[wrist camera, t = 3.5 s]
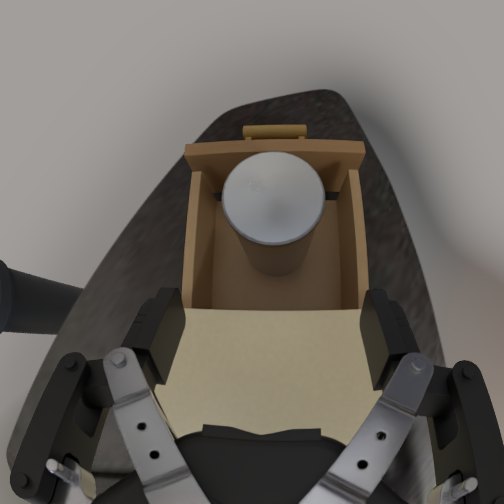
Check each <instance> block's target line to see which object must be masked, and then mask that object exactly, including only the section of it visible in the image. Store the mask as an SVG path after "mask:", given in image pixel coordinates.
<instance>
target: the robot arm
mask: <svg viewBox="0 0 504 504" xmlns="http://www.w3.org/2000/svg"><path fill="white" fill-rule="evenodd" d="M185 324H186V315H185V311H184V307H183V303H182V299H181V295H180V291H179V289H178V288H160V290H159V292H158V294H157V296H156V298H155V299H152V298H150V299H149V300H148V301H147V302H146V303H144V304H143V305H142V307H141V309H140V310H139V312H138V316H136V318H135V320H134V323H133V324H132V326H131V328H130V330H129V332H128V334H127V336H126V338H125V339H124V341H123V343H122V345H121V347H119V348H115V349H113V350H111V351H110V352H109V353H108V354H107V355H106V356H105V358H104V359H99V360H90V361H87V360H86V359H85V357H84V356H83V355H82V354H81V353H78V352H73V353H69V354H67V355H65V356H64V357H63V358H62V359H61V360H60V361H59V363H58V365H57V367H56V369H55V371H54V373H53V375H52V377H51V379H50V381H49V383H48V385H47V387H46V389H45V391H44V393H43V395H42V397H41V400H40V402H39V404H38V406H37V408H36V411H35V413H34V415H33V417H32V420H31V422H30V424H29V427H28V429H27V432H26V434H25V437H24V439H23V442H22V444H21V447H20V449H19V452H18V455H17V458H16V460H15V463H14V466H13V469H12V472H11V475H10V484H11V487H12V490H13V491H14V492H15V494H16V495H18V496H19V497H20V498H22V499H24V500H26V501H28V502H31V503H32V504H408V503H407V502H406V501H405V500H404V499H403V498H402V497H400V496H399V495H398V494H397V493H396V492H395V491H394V490H393V489H392V488H391V487H390V486H388V485H387V484H386V483H385V482H384V481H383V480H382V477H383V476H384V474H385V473H386V471H387V469H388V468H389V466H390V464H391V463H392V461H393V459H394V458H395V456H396V454H397V453H398V451H399V449H400V447H401V445H402V444H403V442H404V440H405V438H406V436H407V434H408V432H409V431H410V429H411V427H412V425H413V423H414V421H415V418H416V416H417V415H419V416H426V417H427V422H428V427H429V433H430V439H431V445H432V452H433V459H434V467H435V475H436V485H437V486H436V487H434V488H433V489H432V490H431V492H430V493H429V495H428V498H427V504H504V445H503V441H502V438H501V433H500V429H499V426H498V422H497V419H496V415H495V412H494V409H493V406H492V402H491V399H490V396H489V393H488V391H487V388H486V385H485V382H484V379H483V376H482V374H481V371H480V369H479V368H478V367H477V365H475V364H474V363H472V362H470V361H465V360H463V361H459V362H457V363H456V364H455V365H454V367H453V368H445V367H439V366H435V365H433V363H432V361H431V360H430V359H429V358H428V357H427V356H425V355H424V354H421V353H420V351H419V348H418V346H417V343H416V340H415V338H414V335H413V333H412V330H411V328H410V327H409V323H408V320H407V319H406V315H405V313H404V311H403V308H402V307H401V306H400V305H399V304H398V303H397V302H396V301H389V300H388V297H387V295H386V292H385V290H383V289H380V290H367V291H366V293H365V297H364V302H363V306H362V310H361V314H360V322H359V325H360V332H361V336H362V341H363V345H364V349H365V353H366V358H367V362H368V367H369V372H370V377H371V381H372V386H373V391H378V390H382V395H381V396H380V397H379V399H378V400H377V402H376V403H375V405H374V407H373V408H372V410H371V411H370V413H369V414H368V416H367V418H366V419H365V421H364V422H363V424H362V425H361V426H360V428H359V429H358V431H357V432H356V434H355V435H354V437H353V438H352V439H351V441H350V442H349V444H348V445H347V446H346V445H345V444H343V443H342V442H340V441H338V440H336V439H333V438H330V437H327V436H322V435H321V428H312V429H289V430H285V431H280V432H275V433H270V434H265V435H259V434H255V433H251V432H248V431H244V430H241V429H238V428H234V427H230V426H219V425H209V424H203V428H202V431H198V432H193V433H190V434H186V435H184V436H182V437H180V438H178V436H177V435H176V433H175V431H174V429H173V428H172V426H171V424H170V422H169V420H168V418H167V416H166V414H165V412H164V410H163V408H162V406H161V404H160V402H159V400H158V398H157V396H156V394H155V392H154V390H155V387H156V384H159V385H166V382H167V379H168V376H169V373H170V370H171V367H172V364H173V361H174V358H175V355H176V352H177V349H178V346H179V343H180V340H181V337H182V334H183V331H184V329H185ZM110 407H112V409H113V412H114V415H115V418H116V421H117V424H118V427H119V429H120V432H121V435H122V437H123V440H124V443H125V445H126V448H127V450H128V453H129V455H130V457H131V460H132V462H133V465H134V467H135V469H136V470H134V471H133V472H131V473H130V474H129V475H127V476H126V477H124V478H123V479H121V480H120V481H119V482H117V483H116V484H114V485H113V486H111V487H110V488H108V489H107V490H105V491H104V492H102V493H100V494H99V495H98V496H97V497H96V494H95V492H96V487H95V479H94V477H93V475H92V474H91V473H90V470H91V467H92V463H93V460H94V456H95V453H96V449H97V446H98V443H99V440H100V436H101V433H102V430H103V427H104V424H105V421H106V418H107V415H108V412H109V409H110Z"/></svg>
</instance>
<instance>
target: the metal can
mask: <svg viewBox="0 0 504 504" xmlns="http://www.w3.org/2000/svg"><path fill="white" fill-rule="evenodd" d="M324 207H325V189H324V186H323V183H322V181H321V178H320V177H319V175H318V173H317V172H316V171H315V169H314V168H313V167H312V166H311V165H310V164H309V163H307V162H306V161H304V160H303V159H301V158H299V157H298V156H295V155H293V154H289V153H286V152H279V151H269V152H262V153H258V154H255V155H252V156H250V157H248V158H246V159H245V160H243V161H242V162H240V163H239V164H238V165H237V166H236V167H235V168H234V169H233V170H232V171H231V172H230V174H229V175H228V177H227V179H226V181H225V183H224V186H223V190H222V208H223V211H224V214H225V217H226V219H227V221H228V223H229V224H230V226H231V227H232V229H233V230H234V231H235V233H236V235H237V237H238V239H239V241H240V243H241V245H242V247H243V249H244V251H245V253H246V255H247V257H248V259H249V261H250V263H251V264H252V266H253V267H254V268H255V269H256V270H258V271H259V272H261V273H263V274H265V275H268V276H274V277H279V276H285V275H288V274H290V273H292V272H294V271H295V270H297V269H298V268H299V267H300V266H301V265H302V263H303V262H304V260H305V258H306V255H307V252H308V250H309V247H310V244H311V241H312V238H313V235H314V232H315V229H316V226H317V225H318V223H319V221H320V219H321V217H322V214H323V211H324Z"/></svg>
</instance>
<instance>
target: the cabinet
mask: <svg viewBox="0 0 504 504" xmlns="http://www.w3.org/2000/svg"><path fill="white" fill-rule="evenodd" d="M361 310H362V309H353V310H308V311H263V310H218V309H192V308H184V311H185V315H186V324H185V329H184V331H183V334H182V337H181V340H180V343H179V346H178V349H177V352H176V355H175V358H174V361H173V364H172V367H171V370H170V373H169V376H168V379H167V382H166V385H159V384H156V387H155V394H156V396H157V398H158V400H159V402H160V404H161V406H162V408H163V410H164V412H165V414H166V416H167V418H168V420H169V422H170V424H171V426H172V428H173V429H174V431H175V433H176V435H177V436H178V438H180V437H182V436H184V435H186V434H190V433H193V432H198V431H202V428H203V424H209V425H219V426H230V427H234V428H238V429H241V430H244V431H248V432H251V433H255V434H259V435H265V434H270V433H275V432H280V431H285V430H289V429H312V428H321V435H322V436H327V437H330V438H333V439H336V440H338V441H340V442H342V443H343V444H345V445H346V446H347V445H348V444H349V442H350V441H351V439H352V438H353V437H354V435H355V434H356V432H357V431H358V429H359V428H360V426H361V425H362V424H363V422H364V421H365V419H366V418H367V416H368V414H369V413H370V411H371V410H372V408H373V407H374V405H375V403H376V402H377V400H378V399H379V397H380V396H381V395H382V390H378V391H373V386H372V381H371V377H370V372H369V367H368V362H367V358H366V353H365V349H364V345H363V341H362V336H361V332H360V325H359V322H360V314H361Z"/></svg>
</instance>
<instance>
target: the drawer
mask: <svg viewBox="0 0 504 504" xmlns="http://www.w3.org/2000/svg"><path fill="white" fill-rule="evenodd" d="M243 138H244V140H238V141H221V142H207V143H195V144H186V146H185V152H184V157H185V159H186V160H187V162H188V164H189V166H190V168H191V169H192V171H193V172H192V178H191V187H190V196H189V205H188V215H187V226H186V238H185V250H184V264H183V280H182V303H183V307H184V308H192V309H218V310H263V311H308V310H353V309H362V306H363V302H364V297H365V293H366V291H367V290H369V282H368V262H367V247H366V235H365V224H364V214H363V205H362V196H361V188H360V181H359V174H358V169H359V167H360V165H361V163H362V160H363V158H364V156H365V147H364V142H363V141H346V140H319V139H306V138H307V128H306V125H253V126H243ZM254 139H265V140H254ZM269 151H279V152H286V153H289V154H293V155H295V156H298V157H299V158H301V159H303V160H304V161H306V162H307V163H309V164H310V165H311V166H312V167H313V168H314V169H315V171H316V172H317V173H318V175H319V177H320V178H321V181H322V183H323V186H324V189H325V191H330V192H339V195H338V197H337V200H325V207H324V211H323V214H322V217H321V219H320V221H319V223H318V225H317V226H316V229H315V232H314V235H313V238H312V241H311V244H310V247H309V250H308V252H307V255H306V258H305V260H304V262H303V263H302V265H301V266H300V267H299V268H298V269H297V270H295V271H294V272H292V273H290V274H288V275H285V276H279V277H274V276H268V275H265V274H263V273H261V272H259V271H258V270H256V269H255V268H254V267H253V266H252V264H251V263H250V261H249V259H248V257H247V255H246V253H245V251H244V249H243V247H242V245H241V243H240V241H239V239H238V237H237V235H236V233H235V231H234V230H233V229H232V227H231V226H230V224H229V223H228V221H227V219H226V217H225V214H224V211H223V208H222V201H216V199H215V197H214V195H213V193H222V190H223V186H224V183H225V181H226V179H227V177H228V175H229V174H230V172H231V171H232V170H233V169H234V168H235V167H236V166H237V165H238V164H239V163H240V162H242V161H243V160H245V159H246V158H248V157H250V156H252V155H255V154H258V153H262V152H269Z"/></svg>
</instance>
